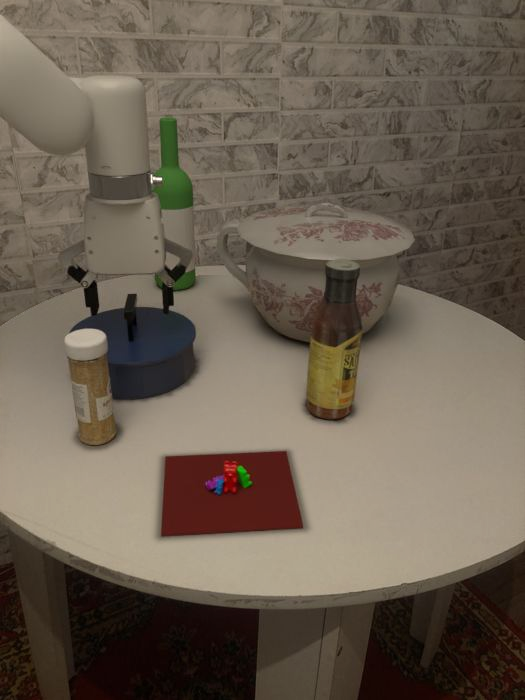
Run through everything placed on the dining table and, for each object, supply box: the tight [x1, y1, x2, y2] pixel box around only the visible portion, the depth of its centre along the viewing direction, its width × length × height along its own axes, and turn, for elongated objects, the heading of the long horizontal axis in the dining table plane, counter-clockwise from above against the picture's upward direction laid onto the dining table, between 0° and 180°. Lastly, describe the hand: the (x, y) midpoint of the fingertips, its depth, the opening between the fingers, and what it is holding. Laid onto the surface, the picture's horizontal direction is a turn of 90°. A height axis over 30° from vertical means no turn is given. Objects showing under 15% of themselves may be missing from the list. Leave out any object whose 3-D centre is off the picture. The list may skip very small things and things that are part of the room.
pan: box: [108, 342, 195, 400], centre depth 85 cm, size 17×17×5 cm
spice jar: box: [63, 329, 118, 446], centre depth 69 cm, size 5×5×14 cm
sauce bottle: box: [305, 259, 363, 420], centre depth 74 cm, size 6×6×20 cm
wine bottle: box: [151, 117, 196, 291], centre depth 108 cm, size 8×8×30 cm
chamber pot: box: [215, 202, 416, 343], centre depth 96 cm, size 28×28×21 cm
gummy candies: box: [205, 461, 252, 495], centre depth 63 cm, size 5×3×4 cm, turn 88°
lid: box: [68, 293, 197, 367], centre depth 83 cm, size 18×18×6 cm
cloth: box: [160, 450, 304, 537], centre depth 64 cm, size 14×12×1 cm
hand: (131, 310), depth 82 cm, fingers open, 9 cm apart
